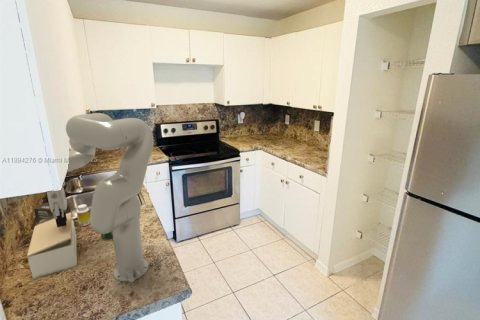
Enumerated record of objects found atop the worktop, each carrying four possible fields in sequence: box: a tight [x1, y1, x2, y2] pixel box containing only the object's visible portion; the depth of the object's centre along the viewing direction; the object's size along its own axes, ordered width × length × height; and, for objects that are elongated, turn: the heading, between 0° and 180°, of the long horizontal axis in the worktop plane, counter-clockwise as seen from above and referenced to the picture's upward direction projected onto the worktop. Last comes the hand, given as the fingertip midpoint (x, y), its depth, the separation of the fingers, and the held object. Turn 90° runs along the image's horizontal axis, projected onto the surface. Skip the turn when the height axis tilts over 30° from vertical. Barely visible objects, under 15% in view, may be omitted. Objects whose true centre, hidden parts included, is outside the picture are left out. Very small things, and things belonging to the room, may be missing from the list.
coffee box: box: [33, 202, 55, 225], centre depth 121 cm, size 9×6×16 cm
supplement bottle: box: [76, 203, 91, 227], centre depth 133 cm, size 6×6×10 cm
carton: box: [27, 218, 78, 280], centre depth 108 cm, size 24×14×10 cm, turn 32°
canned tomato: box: [100, 231, 113, 241], centre depth 122 cm, size 8×8×11 cm
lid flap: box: [26, 212, 72, 258], centre depth 105 cm, size 24×14×6 cm, turn 32°
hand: (62, 223), depth 107 cm, fingers closed on lid flap, 3 cm apart
